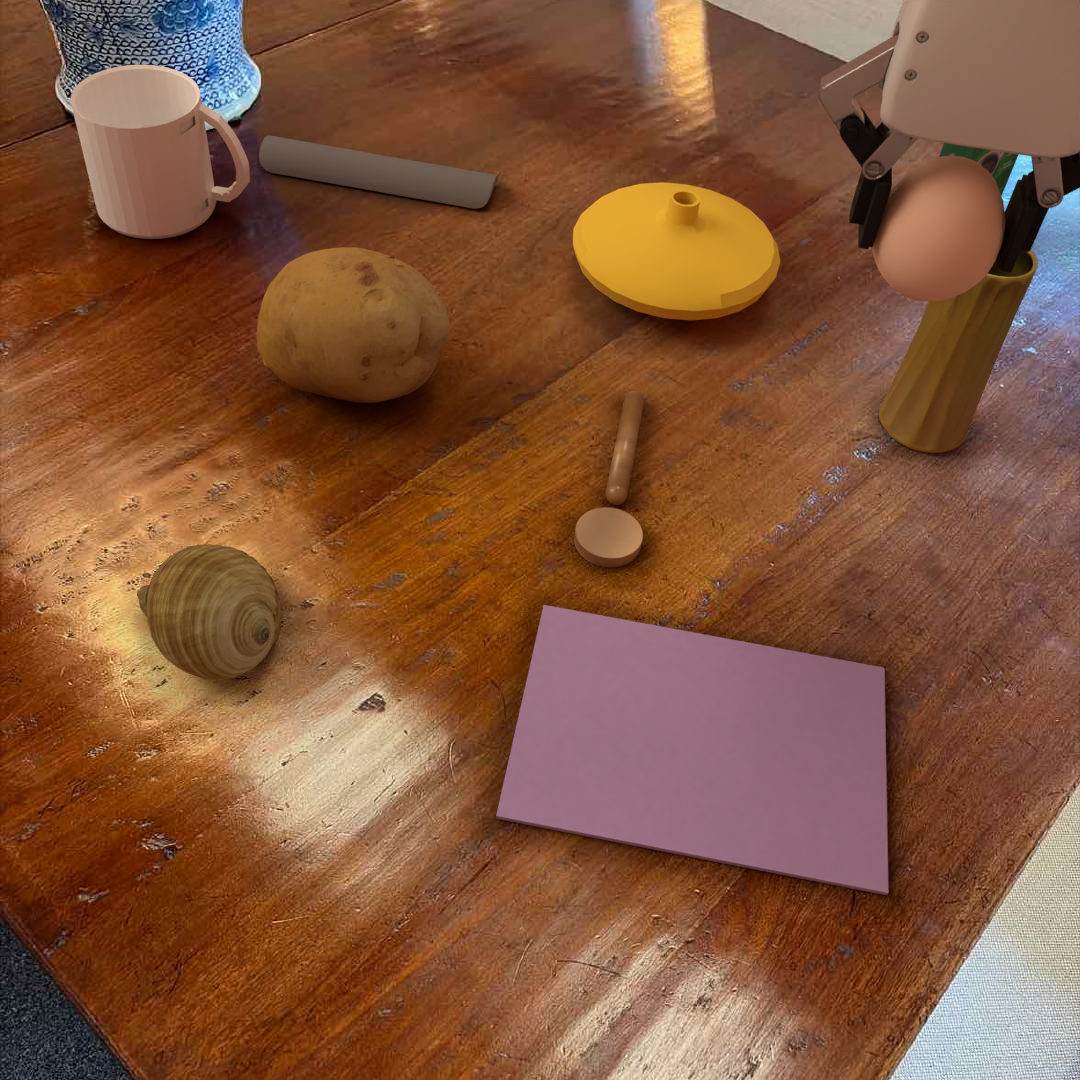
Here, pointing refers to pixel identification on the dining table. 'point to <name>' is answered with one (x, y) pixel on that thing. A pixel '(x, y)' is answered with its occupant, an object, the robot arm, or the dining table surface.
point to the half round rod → (376, 172)
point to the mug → (151, 150)
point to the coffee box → (985, 161)
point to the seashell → (212, 611)
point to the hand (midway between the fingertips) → (933, 243)
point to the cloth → (703, 749)
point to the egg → (940, 229)
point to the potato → (352, 325)
